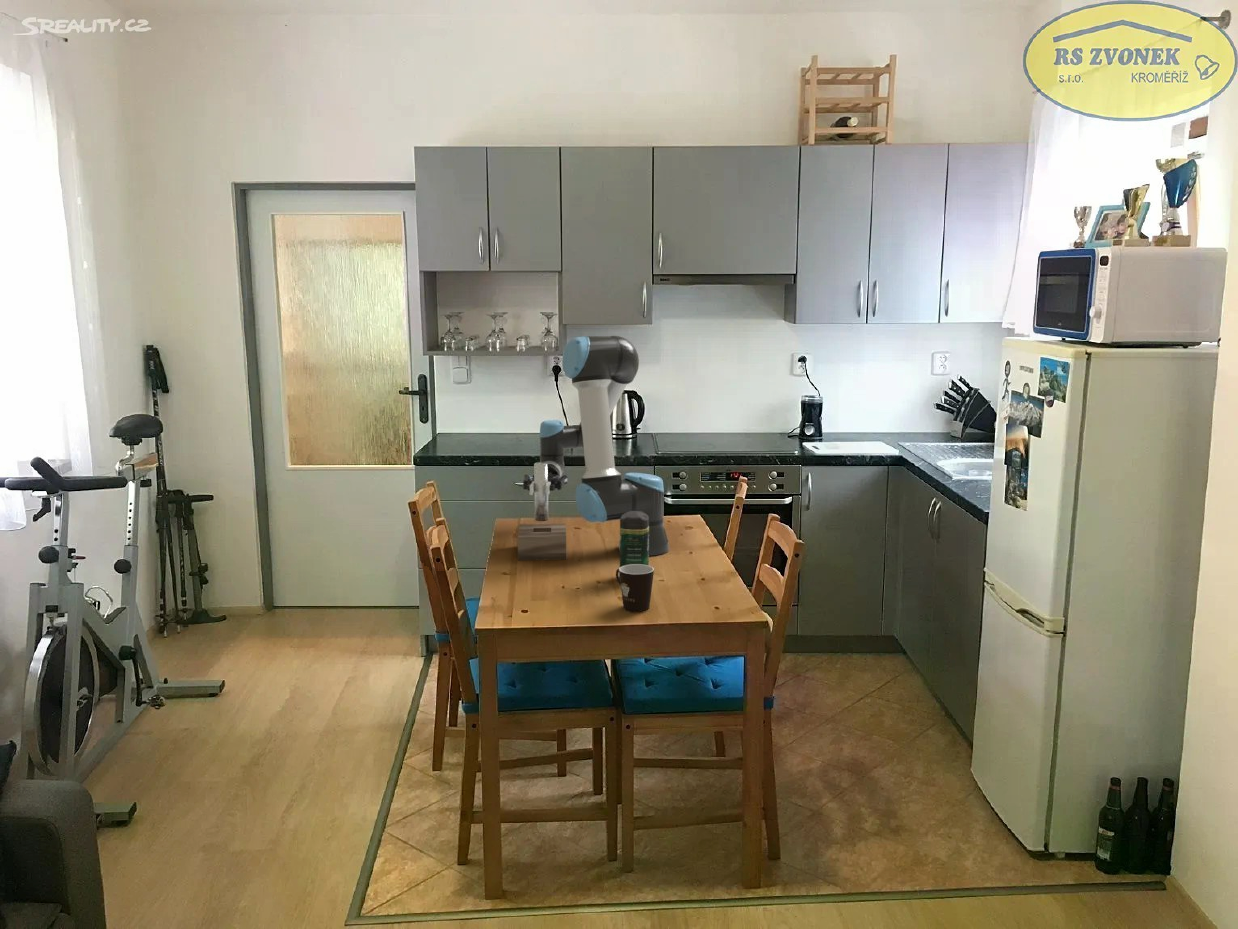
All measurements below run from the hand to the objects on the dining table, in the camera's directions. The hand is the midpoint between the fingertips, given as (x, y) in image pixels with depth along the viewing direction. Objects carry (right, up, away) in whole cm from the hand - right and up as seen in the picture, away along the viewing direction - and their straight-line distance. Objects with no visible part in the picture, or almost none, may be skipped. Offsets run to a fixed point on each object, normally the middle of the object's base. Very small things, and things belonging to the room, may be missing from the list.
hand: (538, 490), depth 281 cm
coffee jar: (+27, -24, -18) cm, 41 cm away
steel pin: (0, -9, +7) cm, 11 cm away
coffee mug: (+27, -28, -41) cm, 56 cm away
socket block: (0, -19, +9) cm, 21 cm away
